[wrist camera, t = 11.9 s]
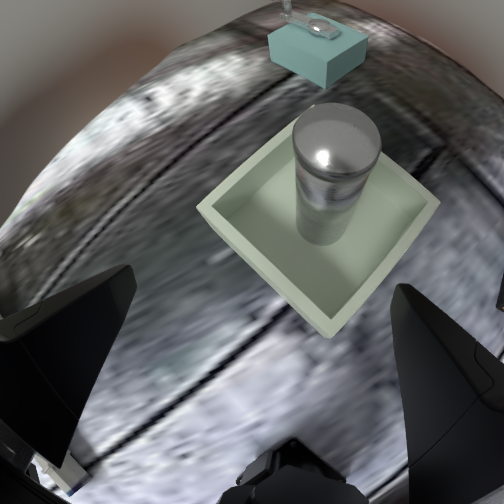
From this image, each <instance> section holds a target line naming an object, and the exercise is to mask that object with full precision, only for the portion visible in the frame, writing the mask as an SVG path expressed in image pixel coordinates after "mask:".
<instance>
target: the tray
mask: <svg viewBox="0 0 504 504" xmlns="http://www.w3.org/2000/svg"><path fill="white" fill-rule="evenodd" d="M313 106H315V105H312V106H311V107H313ZM311 107H310V108H311ZM298 118H299V117H297V118H296V119H295V120H294V121H293V122H291V123H290V124H289V125H288V126H286V127H285V128H284V129H283V130H282V131H280V132H279V133H278V134H277V135H276V136H274V137H273V138H272V139H271V140H270V141H268V142H267V143H266V144H265V145H264V146H263V147H261V148H260V149H259V150H258V151H257V152H256V153H255V154H253V155H252V156H251V157H250V158H249V159H248V160H246V161H245V162H244V163H243V164H242V165H241V166H240V167H239V168H237V169H236V170H235V171H234V172H233V173H232V174H231V175H230V176H229V177H227V178H226V179H225V180H224V181H223V182H222V183H221V184H220V185H219V186H218V187H217V188H215V189H214V190H213V191H212V192H211V193H210V194H209V195H208V196H207V197H206V198H205V199H204V200H203V201H202V202H200V203H199V204H198V205H197V206H196V208H197V209H198V211H199V212H200V213H201V215H202V216H203V217H204V219H205V220H206V221H207V222H208V224H209V225H210V226H211V228H212V229H213V230H214V231H215V232H216V233H217V234H218V235H219V236H220V237H221V238H222V239H223V240H224V241H225V242H226V243H227V244H228V245H229V246H230V247H231V248H232V249H233V250H234V251H235V252H236V253H237V254H238V255H239V256H241V257H242V258H243V259H244V260H245V261H246V262H247V263H248V264H249V265H250V266H251V267H252V268H253V269H254V270H255V271H256V272H257V273H258V274H259V275H260V276H261V277H262V278H263V279H264V280H265V281H266V282H267V283H268V284H269V285H270V286H271V287H272V288H273V289H274V290H275V291H276V292H277V293H278V294H279V295H280V296H281V297H283V298H284V299H285V300H286V301H287V302H288V303H289V304H290V305H291V306H292V307H293V308H294V309H295V310H296V311H297V312H298V313H299V314H300V315H301V316H302V317H303V318H304V319H305V320H306V321H307V322H308V323H309V324H310V325H311V326H313V327H314V328H315V329H316V330H317V331H318V332H319V333H320V334H321V335H322V336H323V337H324V338H332V337H333V336H334V335H335V334H336V333H337V332H338V331H339V330H340V329H341V328H342V327H343V325H344V324H345V323H346V322H347V321H348V320H349V319H350V318H351V317H352V316H353V315H354V313H355V312H356V311H357V310H358V309H359V308H360V307H361V305H362V304H363V303H364V302H365V301H366V300H367V299H368V297H369V296H370V295H371V294H372V293H373V292H374V290H375V289H376V288H377V287H378V286H379V284H380V283H381V282H382V281H383V280H384V278H385V277H386V276H387V275H388V273H389V272H390V271H391V270H392V268H393V267H394V266H395V265H396V263H397V262H398V261H399V260H400V258H401V257H402V256H403V254H404V253H405V252H406V251H407V249H408V248H409V247H410V245H411V244H412V243H413V241H414V240H415V239H416V237H417V236H418V234H419V233H420V232H421V230H422V229H423V228H424V226H425V225H426V223H427V222H428V221H429V219H430V218H431V216H432V215H433V213H434V212H435V210H436V209H437V208H438V206H439V205H440V203H441V202H440V201H439V200H438V199H437V198H436V197H435V196H434V195H433V194H431V193H430V192H429V191H428V190H427V189H426V188H425V187H424V186H423V185H421V184H420V183H419V182H418V181H417V180H416V179H415V178H413V177H412V176H411V175H410V174H409V173H407V172H406V171H405V170H404V169H403V168H401V167H400V166H399V165H398V164H396V163H395V162H394V161H393V160H391V159H390V158H389V157H388V156H386V155H385V154H384V153H383V152H380V155H379V158H378V160H377V163H376V165H375V167H374V169H373V170H372V171H371V173H370V175H369V177H368V179H367V182H366V184H365V187H364V189H363V191H362V194H361V196H360V198H359V201H358V203H357V205H356V208H355V210H354V212H353V214H352V217H351V219H350V221H349V223H348V226H347V228H346V230H345V232H344V234H343V236H342V237H341V238H340V239H339V240H338V241H337V242H335V243H333V244H331V245H327V246H318V245H314V244H311V243H309V242H307V241H306V240H305V239H304V238H303V237H302V236H301V235H300V233H299V232H298V229H297V226H296V183H295V155H294V152H293V144H292V131H293V127H294V124H295V122H296V120H297V119H298Z"/></svg>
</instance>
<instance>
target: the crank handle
mask: <svg viewBox="0 0 504 504" xmlns="http://www.w3.org/2000/svg"><path fill="white" fill-rule="evenodd" d="M282 7H283V13H281V14H280V19H281V20H284V21H286V22H289V23H292V24H294V25H297V26H300V27H302V28H305V29H307V30H308V32H309V33H310V34H311V35H313V36H316V37H326V38H328V39H331V38H333V37H335V36H337V35H339V29H338V28H335V27H333V26H331V25H330V22H328V21H327V20H324V19H313V18H311V17H308V16H305V15H303V14H300V13H297V12H294V11H292V8H291V0H282Z"/></svg>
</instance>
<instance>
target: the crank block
mask: <svg viewBox="0 0 504 504" xmlns="http://www.w3.org/2000/svg"><path fill="white" fill-rule="evenodd" d="M306 16H308V17H311V18H313V19H324V20H327V21H328V22H330V25H331V26H333V27H335V28H338V29H339V35H337V36H335V37H333V38H331V39H328V38H326V37H316V36H313V35H311V34H310V33H309V32H308V30H307V29H305V28H302V27H300V26H297V25H294V24H292V23H290V24H288V25H286V26H284V27H282V28H280V29H278V30H276V31H274V32H272V33H271V34H269V35H268V41H269V48H270V56H271V61H273V62H275V63H277V64H279V65H281V66H283V67H285V68H287V69H289V70H291V71H293V72H295V73H297V74H299V75H301V76H302V77H304V78H306V79H308V80H310V81H312V82H313V83H315V84H317V85H319V86H320V87H322V88H324V89H327V88H328V87H329V86H331V85H332V84H333V83H335V82H336V81H338V80H339V79H340V78H342V77H343V76H344V75H346V74H347V73H349V72H350V71H351V70H353V69H354V68H356V67H357V66H358V65H360V64H361V63H363V62H364V61H365V56H366V49H367V43H368V37H369V36H367V35H364V34H362V33H360V32H358V31H356V30H354V29H352V28H350V27H347V26H345V25H343V24H340V23H338V22H336V21H333V20H331V19H328V18H326V17H323V16H321V15H318V14H315V13H313V12H312V13H310V14H308V15H306Z"/></svg>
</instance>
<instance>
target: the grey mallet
mask: <svg viewBox="0 0 504 504" xmlns="http://www.w3.org/2000/svg"><path fill="white" fill-rule="evenodd" d="M1 319H3V318H2V316H1V314H0V320H1ZM70 454H71V451H70V450H68V451H67V453H66V456H65V459H64V462H63V465H62V467H61V469H58V468H56V467H54V466H53V465H51V464H50V463H48V462H46V461H45V460H43V459H42V458H40V457H39V456H37V455H36V454H35V456H34V458H35V459H36V461H37V462H38V463H39V465H40V466H41V467H42V468H43V470H42V471H41V472H42V473H43V474H46V473H47V474H48V475H49V476H50V478H51V479H52V480H53V481H54V482H55V483H56V484H57V485H58V486H59V487H60V488H61V489H62V490H63V491H64V492H65V493H66V494H67V495H68V496H69V497H70V496H72V495H73V494H74V493H75V492H77V491H78V490H79V489H80V488H81V487H83V486H84V485H85V484H86V483H87V482H88V481H89V480H91V479H92V477H91V476H90V475H89V474H88V473H87V472H86V471H85V470H84V469H83V468H82V467H81V466H80V465H79V464H78V463H77V462H76V461H75V460H74V459H73V457H72V456H71V455H70Z"/></svg>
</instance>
